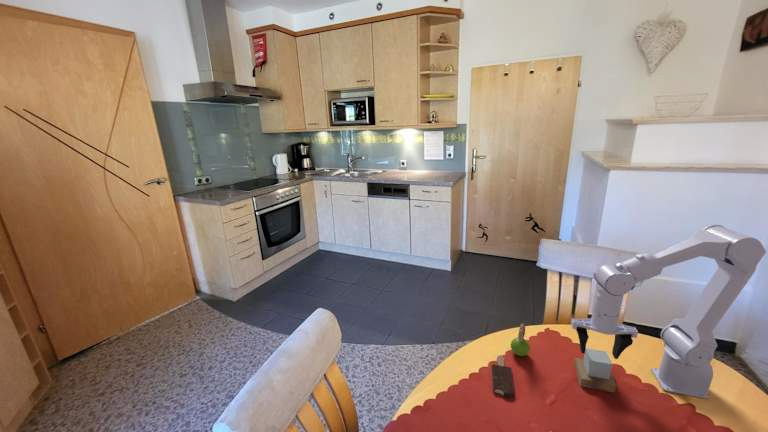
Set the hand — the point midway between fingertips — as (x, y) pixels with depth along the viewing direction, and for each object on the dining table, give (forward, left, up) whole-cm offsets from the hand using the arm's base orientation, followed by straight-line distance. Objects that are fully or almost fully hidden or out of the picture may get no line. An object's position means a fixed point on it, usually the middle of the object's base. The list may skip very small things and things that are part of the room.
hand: (598, 353), depth 87 cm
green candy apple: (+19, -4, -9) cm, 21 cm away
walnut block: (0, 0, -9) cm, 9 cm away
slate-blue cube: (0, 0, -6) cm, 6 cm away
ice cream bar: (+24, +6, -9) cm, 27 cm away
